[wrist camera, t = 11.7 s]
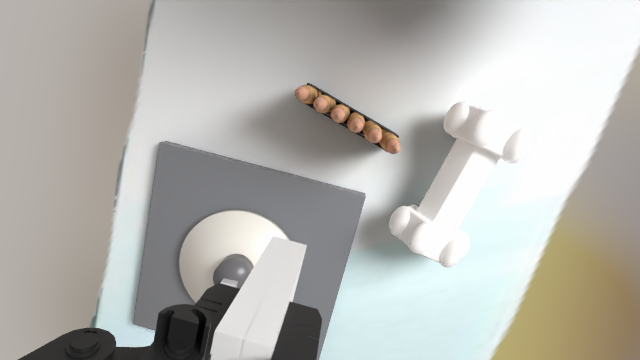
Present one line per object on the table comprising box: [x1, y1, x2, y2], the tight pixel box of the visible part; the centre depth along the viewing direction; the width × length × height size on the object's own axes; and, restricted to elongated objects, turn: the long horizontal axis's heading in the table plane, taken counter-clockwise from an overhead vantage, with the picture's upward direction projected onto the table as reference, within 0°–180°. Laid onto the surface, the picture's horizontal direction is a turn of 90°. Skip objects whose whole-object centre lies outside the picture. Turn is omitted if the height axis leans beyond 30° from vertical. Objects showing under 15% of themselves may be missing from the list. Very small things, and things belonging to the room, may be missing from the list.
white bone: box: [389, 102, 532, 267], centre depth 36 cm, size 15×9×8 cm, turn 155°
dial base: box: [133, 141, 365, 360], centre depth 44 cm, size 24×24×2 cm
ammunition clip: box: [295, 83, 400, 154], centre depth 34 cm, size 11×2×12 cm, turn 61°
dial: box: [179, 209, 290, 303], centre depth 41 cm, size 18×14×4 cm
